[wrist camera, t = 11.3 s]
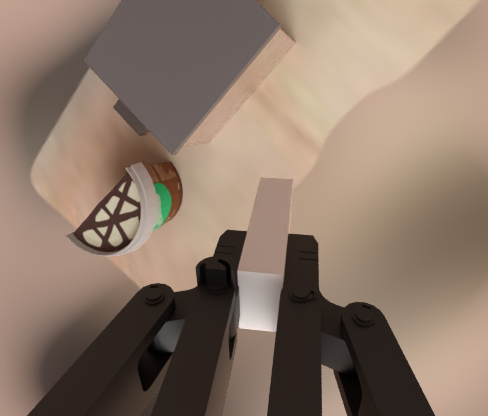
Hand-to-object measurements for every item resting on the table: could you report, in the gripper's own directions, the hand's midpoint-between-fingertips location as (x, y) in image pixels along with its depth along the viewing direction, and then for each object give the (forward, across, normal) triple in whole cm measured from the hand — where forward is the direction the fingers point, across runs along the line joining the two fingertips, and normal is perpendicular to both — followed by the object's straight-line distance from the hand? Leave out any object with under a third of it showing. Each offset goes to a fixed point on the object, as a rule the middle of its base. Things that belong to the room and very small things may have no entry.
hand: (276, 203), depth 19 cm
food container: (+24, -16, -16) cm, 32 cm away
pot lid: (+20, -11, +4) cm, 23 cm away
